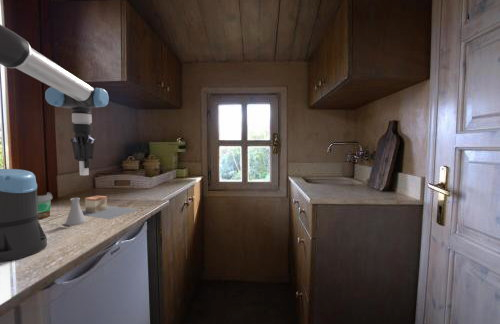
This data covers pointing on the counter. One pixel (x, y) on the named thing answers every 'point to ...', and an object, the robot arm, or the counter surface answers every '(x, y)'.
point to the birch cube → (96, 203)
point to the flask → (75, 213)
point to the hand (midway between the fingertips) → (84, 175)
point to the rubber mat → (109, 212)
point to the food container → (44, 205)
